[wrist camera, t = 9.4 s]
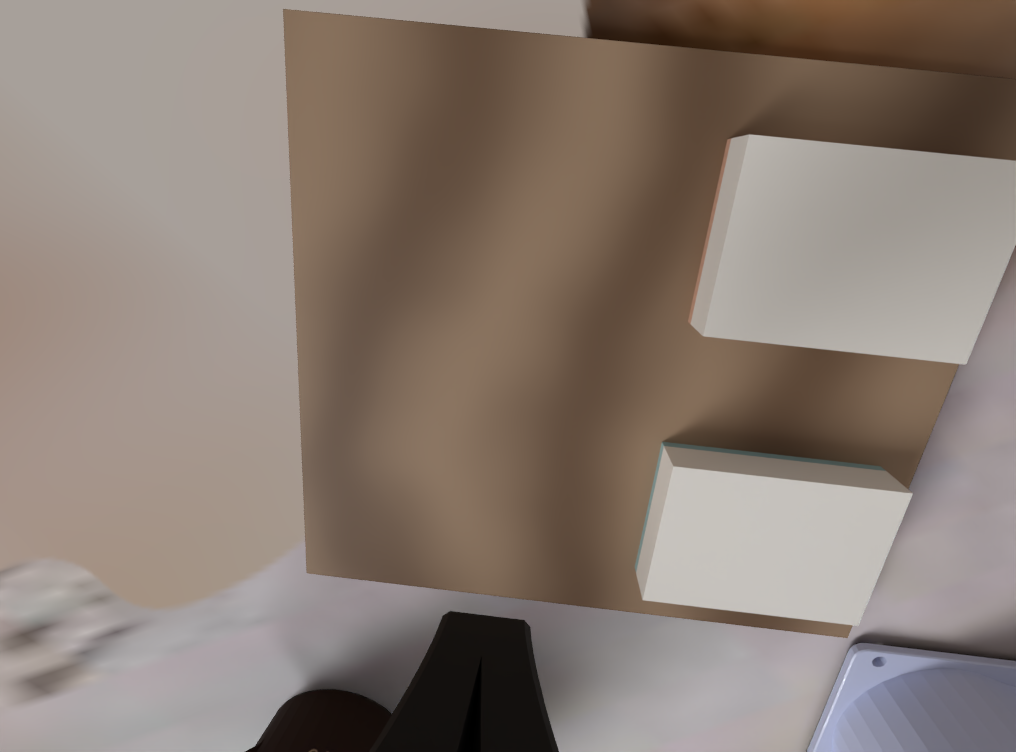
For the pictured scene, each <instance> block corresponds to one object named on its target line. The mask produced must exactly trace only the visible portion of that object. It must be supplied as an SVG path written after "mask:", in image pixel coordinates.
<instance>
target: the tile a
mask: <svg viewBox="0 0 1016 752" xmlns="http://www.w3.org/2000/svg"><path fill="white" fill-rule="evenodd" d="M912 495H913V493H912V492H911V491H909V490H908V489H907V488H906V487H905V486H903V485H902V484H901V483H900V482H899V481H898V480H896V479H895V478H894V477H893V476H892V475H890V474H889V473H888V472H887V471H886V470H884V469H883V468H882V467H881V466H873V465H864V464H856V463H847V462H838V461H829V460H820V459H811V458H802V457H793V456H785V455H776V454H767V453H758V452H749V451H740V450H731V449H722V448H713V447H705V446H696V445H687V444H678V443H669V442H662V444H661V448H660V453H659V457H658V462H657V467H656V471H655V476H654V480H653V485H652V490H651V494H650V499H649V503H648V508H647V513H646V517H645V522H644V526H643V531H642V536H641V540H640V545H639V549H638V554H637V559H636V563H635V571H636V575H637V579H638V583H639V588H640V592H641V596H642V600H645V601H653V602H662V603H670V604H678V605H687V606H695V607H703V608H712V609H720V610H729V611H737V612H745V613H754V614H762V615H770V616H779V617H787V618H795V619H804V620H812V621H821V622H829V623H837V624H846V625H854V626H859V623H860V621H861V618H862V616H863V614H864V611H865V609H866V606H867V604H868V601H869V599H870V597H871V594H872V592H873V589H874V587H875V584H876V582H877V580H878V577H879V575H880V572H881V570H882V568H883V565H884V563H885V560H886V558H887V555H888V553H889V551H890V548H891V546H892V543H893V541H894V538H895V536H896V534H897V531H898V529H899V526H900V524H901V522H902V519H903V517H904V514H905V512H906V509H907V507H908V505H909V502H910V500H911V497H912Z"/></svg>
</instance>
